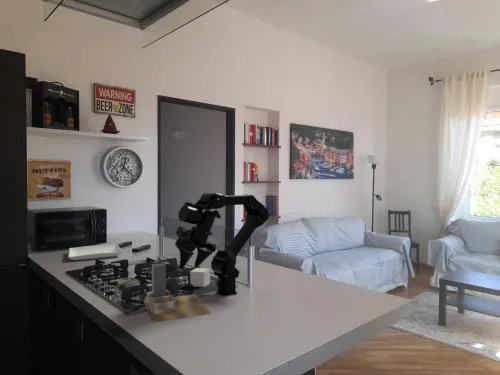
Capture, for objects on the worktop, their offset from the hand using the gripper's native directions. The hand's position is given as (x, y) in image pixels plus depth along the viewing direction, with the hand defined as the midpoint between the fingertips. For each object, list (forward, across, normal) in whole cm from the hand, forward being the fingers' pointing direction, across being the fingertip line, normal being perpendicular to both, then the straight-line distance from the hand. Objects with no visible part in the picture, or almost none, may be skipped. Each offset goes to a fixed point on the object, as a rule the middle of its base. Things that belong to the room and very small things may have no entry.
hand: (188, 268), depth 131 cm
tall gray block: (+13, +8, -1) cm, 15 cm away
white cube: (+9, -19, -3) cm, 22 cm away
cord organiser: (+12, +9, +6) cm, 16 cm away
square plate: (+32, -46, -88) cm, 105 cm away
